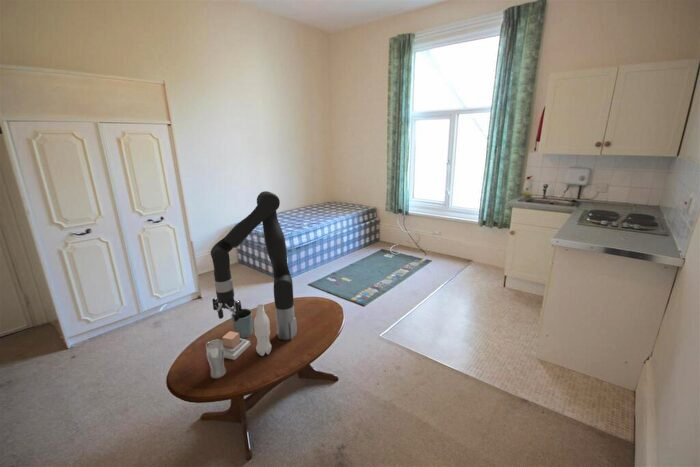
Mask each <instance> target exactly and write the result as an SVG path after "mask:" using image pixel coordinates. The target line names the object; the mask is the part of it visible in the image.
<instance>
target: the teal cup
mask: <svg viewBox="0 0 700 467" xmlns="http://www.w3.org/2000/svg"><path fill="white" fill-rule="evenodd" d="M230 315H231V316H230V317H231V320H232V324H233V329H234V332H236V333H239V335H240V338H241V339H246V338H248V337H251V336H252V334H253V332H254V331H253V329H254V325H253V312H252V310H251V309H249V308H242V312H241V313H239V319H238V321H236V322H235V321H234V314H233V313H231V314H230Z"/></svg>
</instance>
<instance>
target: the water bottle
mask: <svg viewBox="0 0 700 467" xmlns="http://www.w3.org/2000/svg"><path fill="white" fill-rule="evenodd" d="M253 329H254V335H255V337H256V340H257V342H256V346H255V351H256V353H257V354H258V355H259V356H261V357H264V356H265V354H266V355H270V353H271V351H272V344H271V342H270V334H271V326H270V318H269V316H268V315H267V314H266V312H265V307H264V304H263V303H262V304H261V303H260V304H257V305H256V315H255V317H254V319H253Z"/></svg>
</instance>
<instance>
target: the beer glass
mask: <svg viewBox="0 0 700 467" xmlns="http://www.w3.org/2000/svg"><path fill="white" fill-rule="evenodd" d="M205 349H206V350H205V351H206V353H205V354H206V359H207V361H208V364H209V366H210V377H211V378H212V379H220V378H222V377H223V376H224V375H225V374H226V373H227V370H226V367H225V357H224V346H223V340H222V339H217V338H216V339H213V340H212V339H211V340H210V341H207V343H206V344H205Z"/></svg>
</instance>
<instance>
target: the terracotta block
mask: <svg viewBox="0 0 700 467" xmlns="http://www.w3.org/2000/svg"><path fill="white" fill-rule="evenodd" d="M221 340H222V342H223V346H224V347H225V348H229V349H234V348H235V347H236V346H237V345H239V344H240V335H239V333H236V332H235V331H231V330H230V331H228V332H227V333H226V334H225V335H223V336H222V338H221Z"/></svg>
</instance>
